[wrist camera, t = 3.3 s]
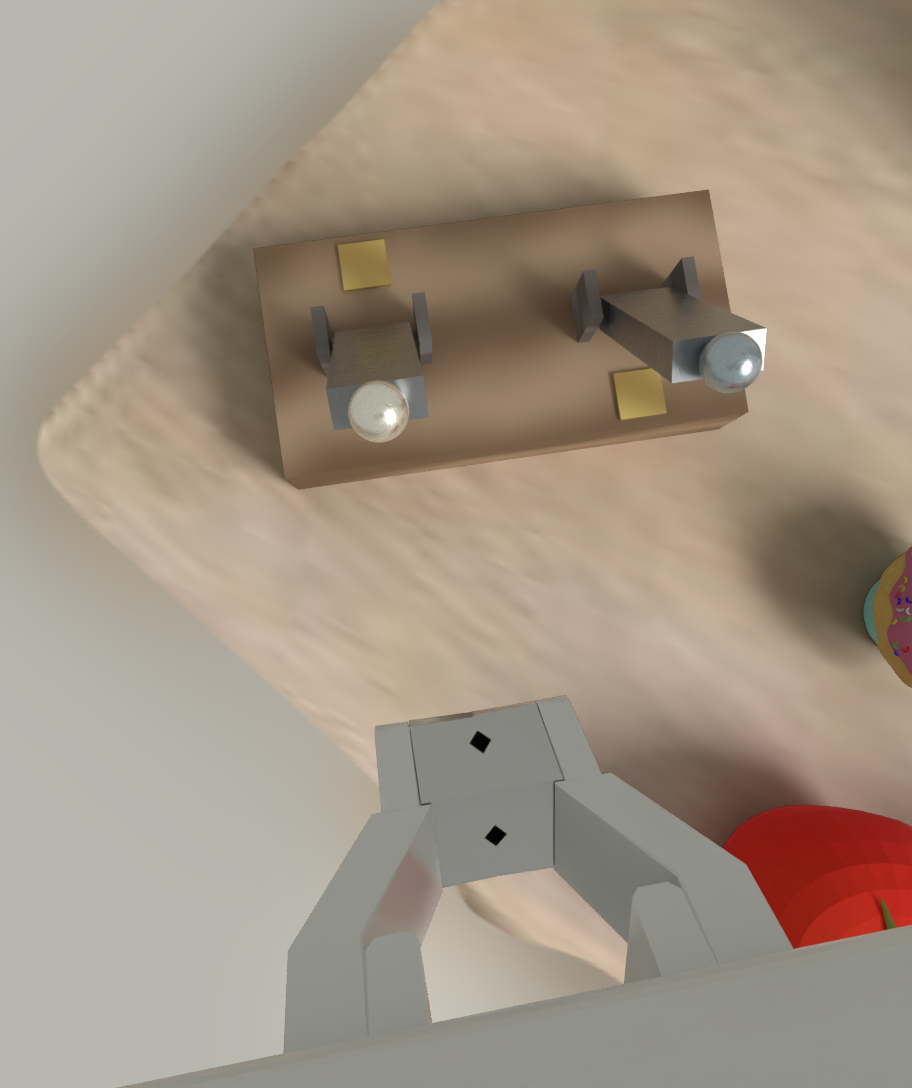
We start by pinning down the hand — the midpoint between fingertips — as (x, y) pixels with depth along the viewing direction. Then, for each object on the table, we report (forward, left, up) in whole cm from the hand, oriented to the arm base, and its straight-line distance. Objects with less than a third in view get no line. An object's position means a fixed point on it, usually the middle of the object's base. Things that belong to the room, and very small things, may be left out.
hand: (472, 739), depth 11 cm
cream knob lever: (-7, -14, -24) cm, 29 cm away
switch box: (-12, -11, -29) cm, 34 cm away
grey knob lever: (-18, -7, -24) cm, 31 cm away
